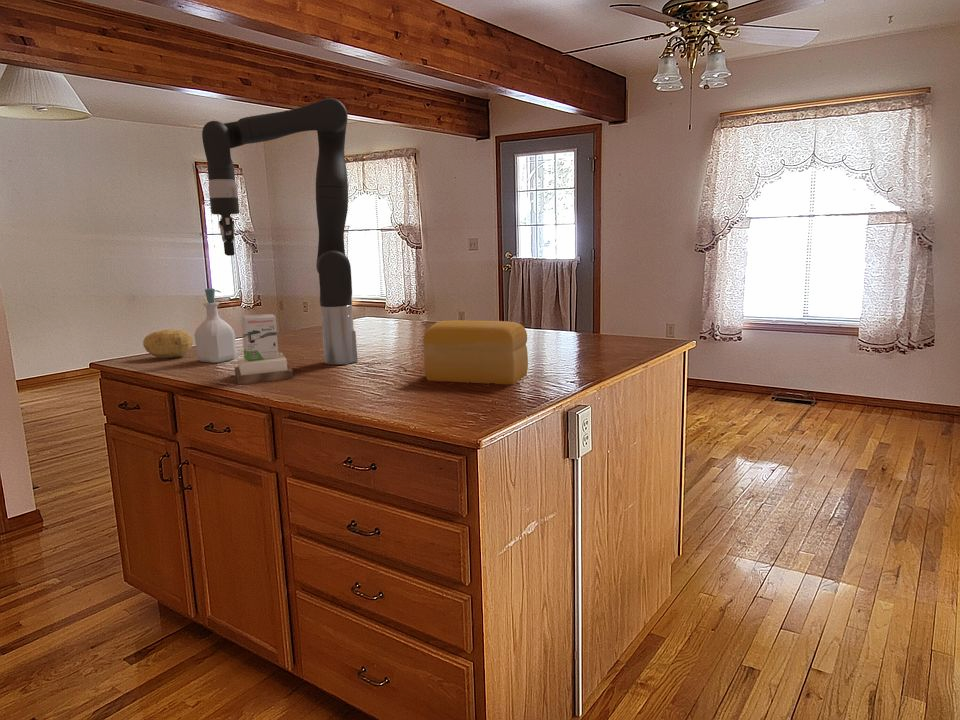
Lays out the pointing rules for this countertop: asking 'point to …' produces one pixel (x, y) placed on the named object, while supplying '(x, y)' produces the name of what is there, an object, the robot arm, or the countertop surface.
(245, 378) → the walnut slab
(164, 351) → the potato
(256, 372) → the cream slab
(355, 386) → the countertop surface
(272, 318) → the ink box
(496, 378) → the bread
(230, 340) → the soap bottle
